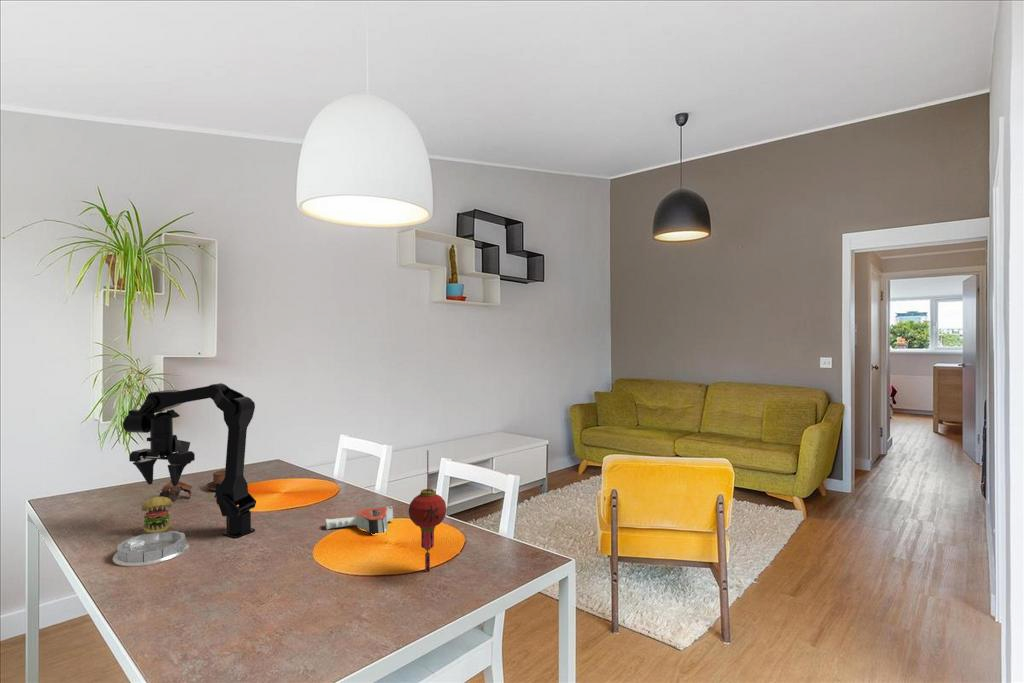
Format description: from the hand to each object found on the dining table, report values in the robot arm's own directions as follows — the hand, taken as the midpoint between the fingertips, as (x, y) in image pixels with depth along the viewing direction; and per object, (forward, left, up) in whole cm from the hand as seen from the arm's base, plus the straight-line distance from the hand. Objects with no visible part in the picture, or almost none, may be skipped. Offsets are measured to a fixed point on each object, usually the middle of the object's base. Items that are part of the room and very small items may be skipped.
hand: (162, 485), depth 163 cm
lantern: (-87, -10, -13) cm, 89 cm away
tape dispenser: (-53, -27, -14) cm, 61 cm away
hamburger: (-1, +3, -13) cm, 14 cm away
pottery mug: (+23, -18, -13) cm, 32 cm away
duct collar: (-15, +13, -13) cm, 24 cm away
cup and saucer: (+22, -36, -14) cm, 44 cm away
